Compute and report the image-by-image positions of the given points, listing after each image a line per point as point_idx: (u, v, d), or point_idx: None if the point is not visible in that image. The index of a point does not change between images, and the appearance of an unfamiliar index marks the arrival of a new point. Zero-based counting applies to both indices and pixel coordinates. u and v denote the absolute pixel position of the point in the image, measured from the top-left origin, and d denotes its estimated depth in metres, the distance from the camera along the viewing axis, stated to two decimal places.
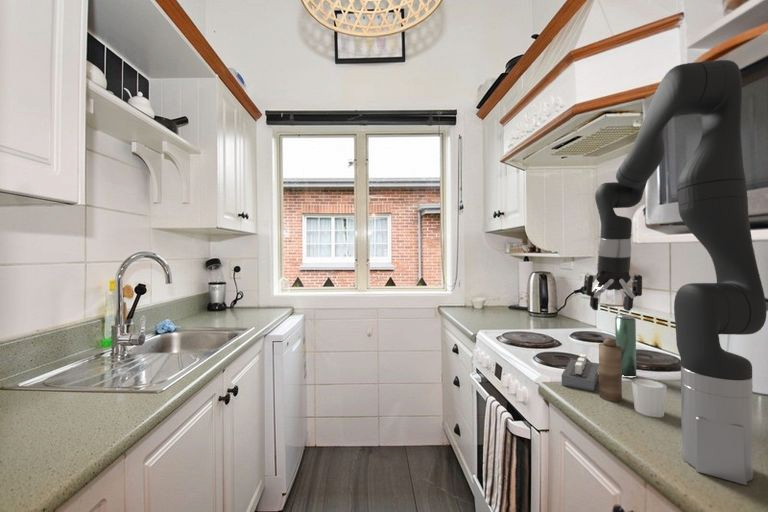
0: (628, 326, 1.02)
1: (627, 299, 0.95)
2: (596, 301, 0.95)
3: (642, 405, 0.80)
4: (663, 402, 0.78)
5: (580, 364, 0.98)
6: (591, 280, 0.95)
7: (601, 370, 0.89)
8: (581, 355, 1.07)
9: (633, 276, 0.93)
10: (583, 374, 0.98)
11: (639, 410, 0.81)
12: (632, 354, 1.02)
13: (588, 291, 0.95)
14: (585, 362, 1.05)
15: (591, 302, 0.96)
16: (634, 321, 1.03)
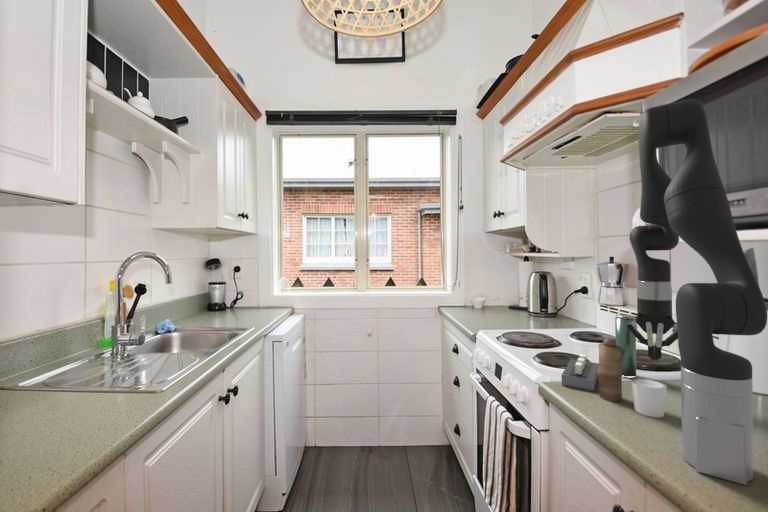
0: None
1: None
2: (652, 350, 0.92)
3: (642, 405, 0.80)
4: (663, 402, 0.78)
5: (580, 364, 0.98)
6: (632, 328, 0.94)
7: (601, 370, 0.89)
8: (581, 355, 1.07)
9: (677, 327, 0.89)
10: (583, 374, 0.98)
11: (639, 410, 0.81)
12: (632, 354, 1.02)
13: (641, 338, 0.93)
14: (585, 362, 1.05)
15: (648, 351, 0.93)
16: None
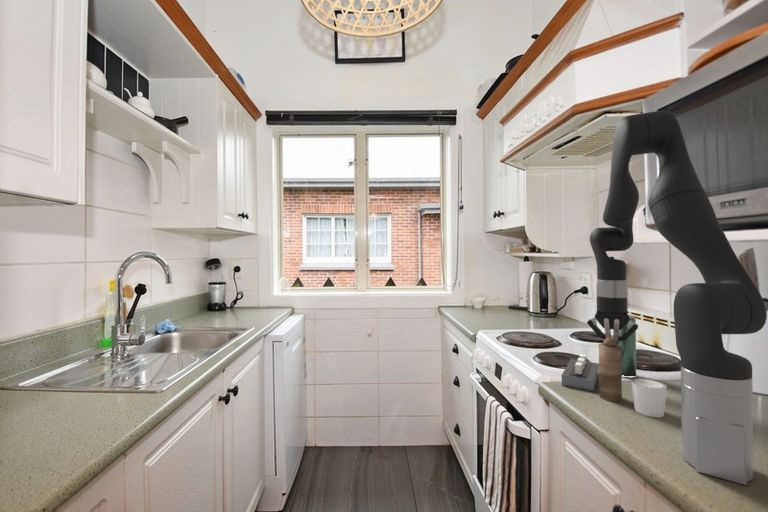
0: None
1: None
2: None
3: (642, 405, 0.80)
4: (663, 402, 0.78)
5: (580, 364, 0.98)
6: (592, 324, 1.00)
7: (601, 370, 0.89)
8: (581, 355, 1.07)
9: (631, 323, 0.95)
10: (583, 374, 0.98)
11: (639, 410, 0.81)
12: (632, 354, 1.02)
13: (600, 334, 0.99)
14: (585, 362, 1.05)
15: None
16: (634, 321, 1.03)
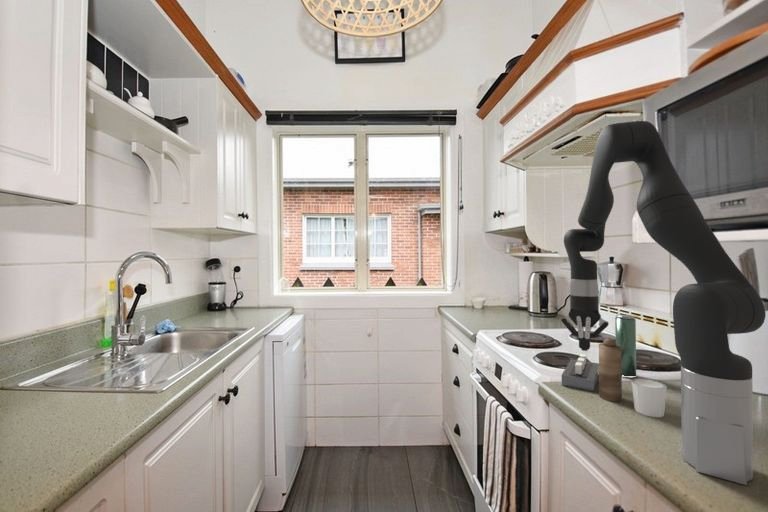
0: (628, 326, 1.02)
1: None
2: (582, 341, 1.02)
3: (642, 405, 0.80)
4: (663, 402, 0.78)
5: (580, 364, 0.98)
6: (565, 322, 1.04)
7: (601, 370, 0.89)
8: (581, 355, 1.07)
9: (602, 320, 0.99)
10: (583, 374, 0.98)
11: (639, 410, 0.81)
12: (632, 354, 1.02)
13: (573, 331, 1.03)
14: (585, 362, 1.05)
15: (579, 342, 1.03)
16: (634, 321, 1.03)
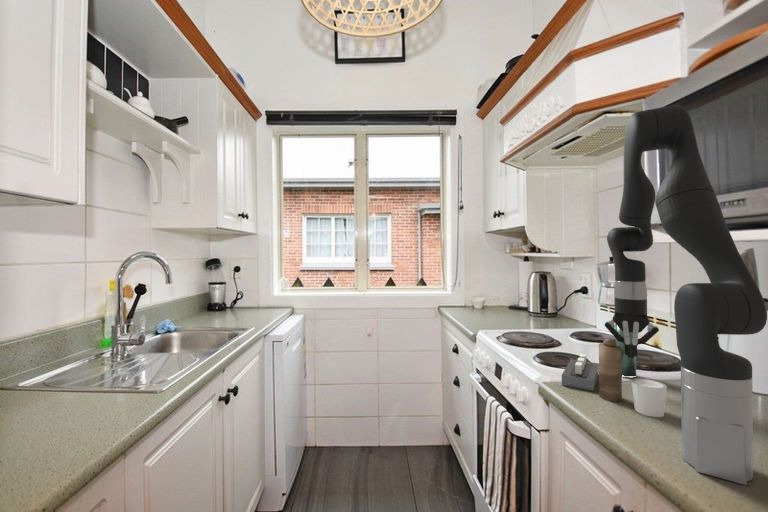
0: None
1: None
2: (628, 348, 0.95)
3: (642, 405, 0.80)
4: (663, 402, 0.78)
5: (580, 364, 0.98)
6: (609, 327, 0.97)
7: (601, 370, 0.89)
8: (581, 355, 1.07)
9: (651, 325, 0.92)
10: (583, 374, 0.98)
11: (639, 410, 0.81)
12: None
13: (618, 336, 0.96)
14: (585, 362, 1.05)
15: None
16: None
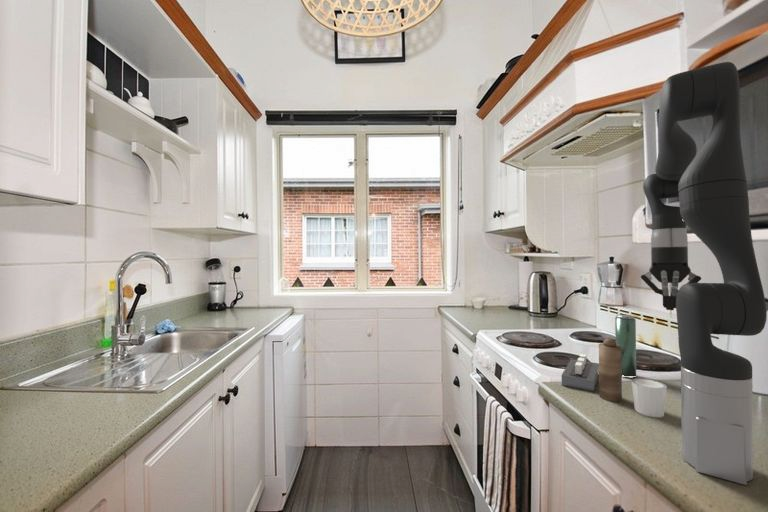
0: (628, 326, 1.02)
1: None
2: (667, 300, 0.90)
3: (642, 405, 0.80)
4: (663, 402, 0.78)
5: (580, 364, 0.98)
6: (646, 279, 0.92)
7: (601, 370, 0.89)
8: (581, 355, 1.07)
9: (693, 274, 0.87)
10: (583, 374, 0.98)
11: (639, 410, 0.81)
12: (632, 354, 1.02)
13: (656, 288, 0.91)
14: (585, 362, 1.05)
15: (663, 301, 0.91)
16: (634, 321, 1.03)
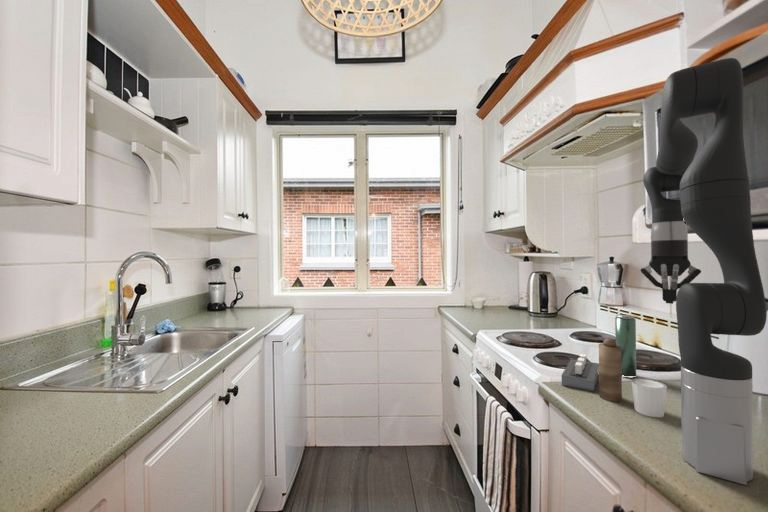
0: (628, 326, 1.02)
1: None
2: (667, 293, 0.90)
3: (642, 405, 0.80)
4: (663, 402, 0.78)
5: (580, 364, 0.98)
6: (646, 272, 0.92)
7: (601, 370, 0.89)
8: (581, 355, 1.07)
9: (693, 267, 0.87)
10: (583, 374, 0.98)
11: (639, 410, 0.81)
12: (632, 354, 1.02)
13: (656, 282, 0.91)
14: (585, 362, 1.05)
15: (662, 294, 0.91)
16: (634, 321, 1.03)
